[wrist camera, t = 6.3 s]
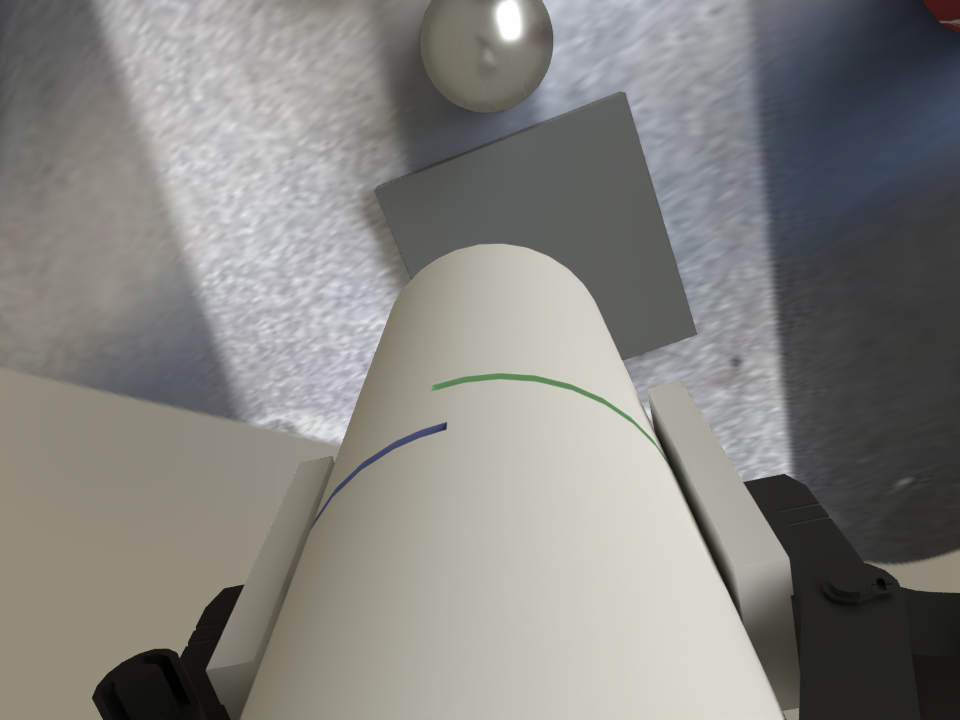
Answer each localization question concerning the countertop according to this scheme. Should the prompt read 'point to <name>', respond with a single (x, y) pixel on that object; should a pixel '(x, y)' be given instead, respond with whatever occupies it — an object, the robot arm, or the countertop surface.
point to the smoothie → (946, 12)
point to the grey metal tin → (486, 51)
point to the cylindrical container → (504, 529)
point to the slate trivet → (557, 216)
